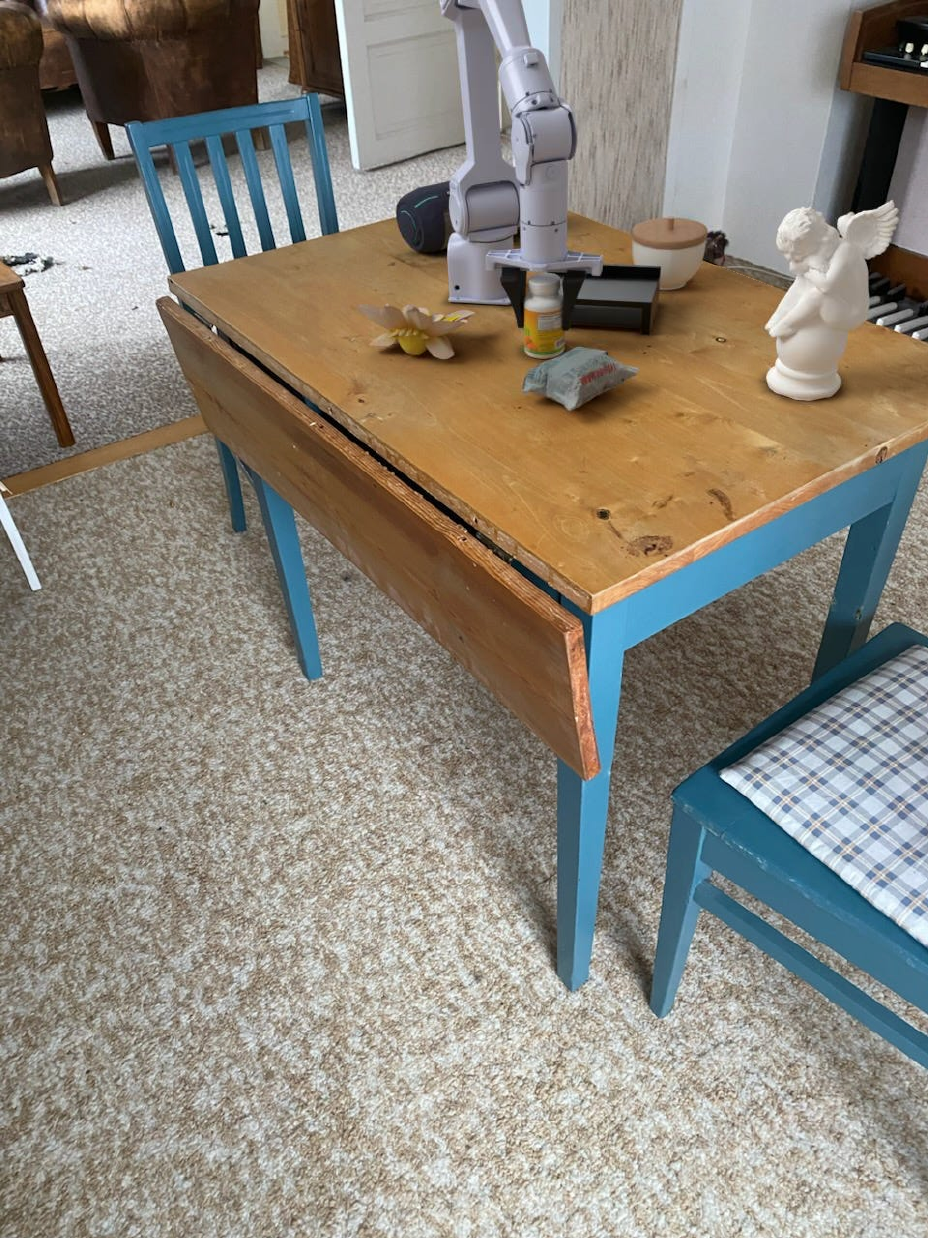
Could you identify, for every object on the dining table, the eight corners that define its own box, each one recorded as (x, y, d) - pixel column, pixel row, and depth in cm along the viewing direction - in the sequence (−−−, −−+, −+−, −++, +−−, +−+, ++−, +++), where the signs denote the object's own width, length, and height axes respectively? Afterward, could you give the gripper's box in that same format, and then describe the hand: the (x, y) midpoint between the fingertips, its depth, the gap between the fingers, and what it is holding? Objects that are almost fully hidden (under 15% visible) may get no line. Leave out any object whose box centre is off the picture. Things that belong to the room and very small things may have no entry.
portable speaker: (420, 264, 154) (414, 200, 147) (393, 247, 161) (387, 185, 154) (551, 232, 162) (551, 169, 156) (520, 217, 169) (519, 156, 163)
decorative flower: (499, 325, 129) (483, 258, 122) (462, 377, 123) (443, 311, 116) (406, 317, 136) (386, 253, 128) (367, 366, 130) (343, 302, 123)
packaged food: (637, 390, 116) (639, 351, 113) (570, 425, 111) (570, 385, 108) (584, 370, 122) (585, 332, 118) (518, 402, 116) (516, 364, 113)
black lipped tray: (533, 328, 132) (533, 287, 129) (548, 300, 140) (548, 261, 136) (649, 334, 128) (652, 293, 125) (658, 305, 136) (661, 265, 132)
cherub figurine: (745, 389, 115) (773, 198, 101) (781, 350, 123) (812, 167, 109) (846, 411, 109) (891, 213, 95) (878, 369, 117) (924, 179, 103)
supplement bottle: (521, 344, 128) (520, 272, 122) (561, 340, 129) (561, 268, 122) (526, 361, 124) (525, 287, 118) (567, 357, 124) (568, 284, 118)
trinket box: (698, 268, 146) (705, 204, 140) (705, 295, 138) (712, 228, 132) (628, 269, 147) (631, 206, 141) (630, 296, 139) (634, 230, 133)
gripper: (477, 227, 114) (482, 335, 123) (597, 231, 111) (594, 342, 120) (492, 208, 119) (496, 313, 128) (607, 212, 116) (603, 319, 125)
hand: (544, 326), depth 124 cm, fingers closed on supplement bottle, 5 cm apart
